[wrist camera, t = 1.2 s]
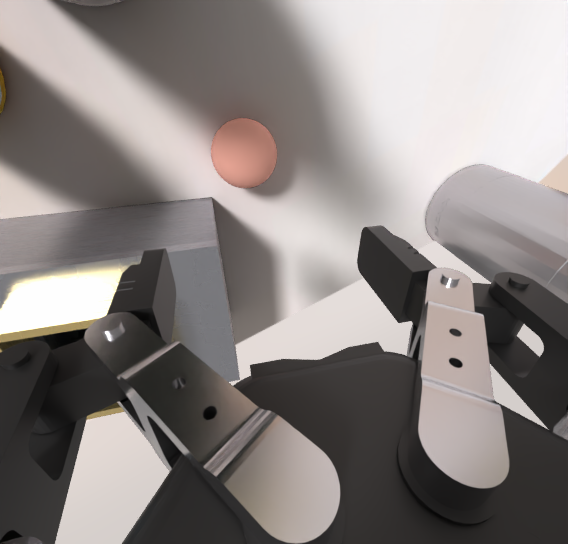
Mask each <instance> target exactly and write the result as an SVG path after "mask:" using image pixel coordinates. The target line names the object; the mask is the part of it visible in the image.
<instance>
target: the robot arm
mask: <svg viewBox="0 0 568 544" xmlns="http://www.w3.org/2000/svg"><path fill="white" fill-rule="evenodd" d="M426 228H427V231H428V233H429V235H430V236H431V238H433V239H434V240H435V241H437V242H438V243H439V244H441V245H442V246H443V247H445V248H446V249H447V250H449V251H450V252H451V253H453V254H454V255H455V256H456V257H458V258H459V259H460V260H462V261H463V262H464V263H466V264H467V265H468V266H470V267H471V268H472V269H474V270H475V271H476V272H478V273H479V274H481V275H482V276H483V277H484V278H486V279H487V280H489V281H490V282H491V284H481V283H472V281H471V280H470V278H468V277H467V276H466V275H465V274H463V273H461V272H459V271H456V270H453V269H449V268H437V267H436V266H434V265H433V264H432V263H431V262H430V261H428V260H427V259H426V258H425V257H424V256H423V255H421V254H419V252H418V251H417V250H416V249H415V248H413V247H412V246H411V245H410V244H409V243H408V242H406V241H405V240H403V239H401V238H399V237H397V236H395V235H393V234H391V233H390V232H389V231H388V230H387V229H386V228H385V227H383V226H373V227H365V228H363V230H362V233H361V239H360V246H359V252H358V259H357V264H358V269H359V271H360V273H361V275H362V276H363V277H364V279H365V280H366V281H367V282H368V284H369V285H370V286H371V288H372V289H373V290H374V292H375V293H376V294H377V296H378V297H379V298H380V299H381V301H382V302H383V303H384V305H385V306H386V307H387V309H388V310H389V311H390V313H391V314H392V315H393V316H394V318H395V319H396V320H397V322H398V323H402V322H407V321H412V322H413V325H412V328H411V332H410V338H409V344H408V351H407V356H405V355H402V354H398V353H393V352H384V351H383V349H382V348H381V346H380V345H379V343H378V342H375V343H370V344H364V345H359V346H353V347H348V348H346V349H343V350H341V351H339V352H337V353H334V354H332V355H330V356H328V357H325V358H323V359H320V360H298V359H281V360H275V361H270V362H264V363H259V364H253V365H250V368H251V376H249V377H247V378H245V379H243V380H241V381H240V382H238V383H236V384H235V385H234V386H232V385H231V384H230V383H229V382H227V381H226V380H225V379H224V378H223V377H221V376H220V375H219V374H218V373H217V372H215V371H214V370H213V369H212V368H210V367H209V366H208V365H207V364H206V363H204V362H203V361H202V360H201V359H200V358H198V357H197V356H196V355H195V354H194V353H192V352H191V351H190V350H189V349H187V348H186V347H185V346H184V345H183V344H181V343H180V342H178V341H173V342H172V333H173V323H174V314H175V304H176V286H175V281H174V277H173V273H172V269H171V265H170V261H169V257H168V253H167V250H166V249H165V248H162V249H153V250H145V251H144V252H143V256H142V259H141V262H140V264H135V265H131V266H129V267H128V268H127V269H126V270H125V271H124V272H123V273H122V275H121V278H120V281H119V284H118V286H117V288H116V292H115V294H114V296H113V299H112V302H111V304H110V307H109V310H108V312H107V315H106V316H104V317H102V318H100V319H98V320H96V321H95V322H94V323H92V324H91V325H90V326H89V327H88V329H87V330H86V332H85V335H84V338H83V339H81V340H79V341H77V342H74V343H71V344H68V345H66V346H63V347H60V348H57V349H54V350H51V349H50V347H49V346H48V344H47V343H45V342H42V341H27V342H23V343H20V344H17V345H14V346H12V347H10V348H8V349H6V350H4V351H2V352H1V353H0V544H55V540H56V536H57V532H58V528H59V524H60V520H61V517H62V513H63V509H64V505H65V501H66V497H67V493H68V489H69V485H70V481H71V477H72V474H73V469H74V466H75V462H76V458H77V454H78V450H79V446H80V442H81V438H82V435H83V430H84V427H85V423H86V419H87V416H88V415H91V414H93V413H95V412H97V411H99V410H102V409H104V408H106V407H108V406H110V405H112V404H115V403H117V402H118V404H119V405H120V406H121V408H122V409H123V410H124V411H125V412H126V414H127V415H128V416H129V417H130V419H131V420H132V421H133V422H134V424H135V425H136V426H137V427H138V429H139V430H140V431H141V432H142V434H143V435H144V436H145V437H146V439H147V440H148V441H149V442H150V444H151V445H152V447H153V448H154V450H155V452H156V453H157V455H158V456H159V458H160V459H161V461H162V462H163V464H164V465H165V466H166V467H167V469H168V470H169V471H170V473H169V474H168V476H167V477H166V479H165V480H164V482H163V483H162V485H161V486H160V488H159V489H158V491H157V492H156V494H155V495H154V497H153V498H152V500H151V501H150V503H149V504H148V505H147V507H146V509H145V510H144V512H143V513H142V514H141V516H140V517H139V519H138V521H137V522H136V523H135V525H134V526H133V528H132V529H131V531H130V532H129V534H128V535H127V537H126V538H125V540H124V541H123V543H122V544H568V194H567V193H564V192H562V191H559V190H556V189H553V188H550V187H548V186H545V185H542V184H539V183H536V182H533V181H531V180H528V179H525V178H522V177H520V176H517V175H514V174H511V173H508V172H506V171H503V170H500V169H497V168H494V167H491V166H488V165H482V164H481V165H473V166H469V167H466V168H464V169H462V170H460V171H458V172H456V173H455V174H454V175H452V176H451V177H450V178H448V179H447V180H446V181H445V182H444V183H443V184H442V185H441V186H440V188H439V189H438V190H437V192H436V193H435V195H434V196H433V198H432V200H431V202H430V204H429V207H428V210H427V214H426ZM523 324H525V325H526V326H527V327H529V328H530V329H531V330H532V331H533V332H535V333H536V334H537V335H538V336H539V337H540V338H541V340H542V342H543V344H544V351H543V353H542V355H541V356H540V357H539V356H537V355H536V354H535V353H534V352H533V351H532V350H531V349H530V348H529V347H528V346H527V345H526V344H525V343H524V342H522V341H521V340H520V339H519V338H518V337H517V334H518V332H519V331H520V329H521V327H522V326H523ZM171 342H172V343H171ZM490 364H491V365H492V366H493V367H494V368H495V370H496V371H497V372H498V373H499V374H500V375H501V376H502V377H503V379H504V380H505V381H506V382H507V383H508V384H509V385H510V386H511V387H512V389H513V390H514V391H515V392H516V393H517V394H518V395H519V397H520V398H521V399H522V400H523V401H524V402H525V403H526V404H527V406H528V407H529V408H530V409H531V410H532V411H533V412H534V413H535V415H536V416H537V417H538V418H539V419H540V420H541V421H542V422H543V423H544V425H545V426H546V427H547V428H548V429H549V430H548V429H546V428H544V427H542V426H540V425H538V424H537V423H535V422H533V421H531V420H529V419H527V418H525V417H523V416H521V415H520V414H518V413H516V412H514V411H512V410H510V409H508V408H507V407H505V406H503V405H501V404H499V403H497V402H496V401H495V400H494V396H493V388H492V380H491V372H490Z"/></svg>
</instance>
